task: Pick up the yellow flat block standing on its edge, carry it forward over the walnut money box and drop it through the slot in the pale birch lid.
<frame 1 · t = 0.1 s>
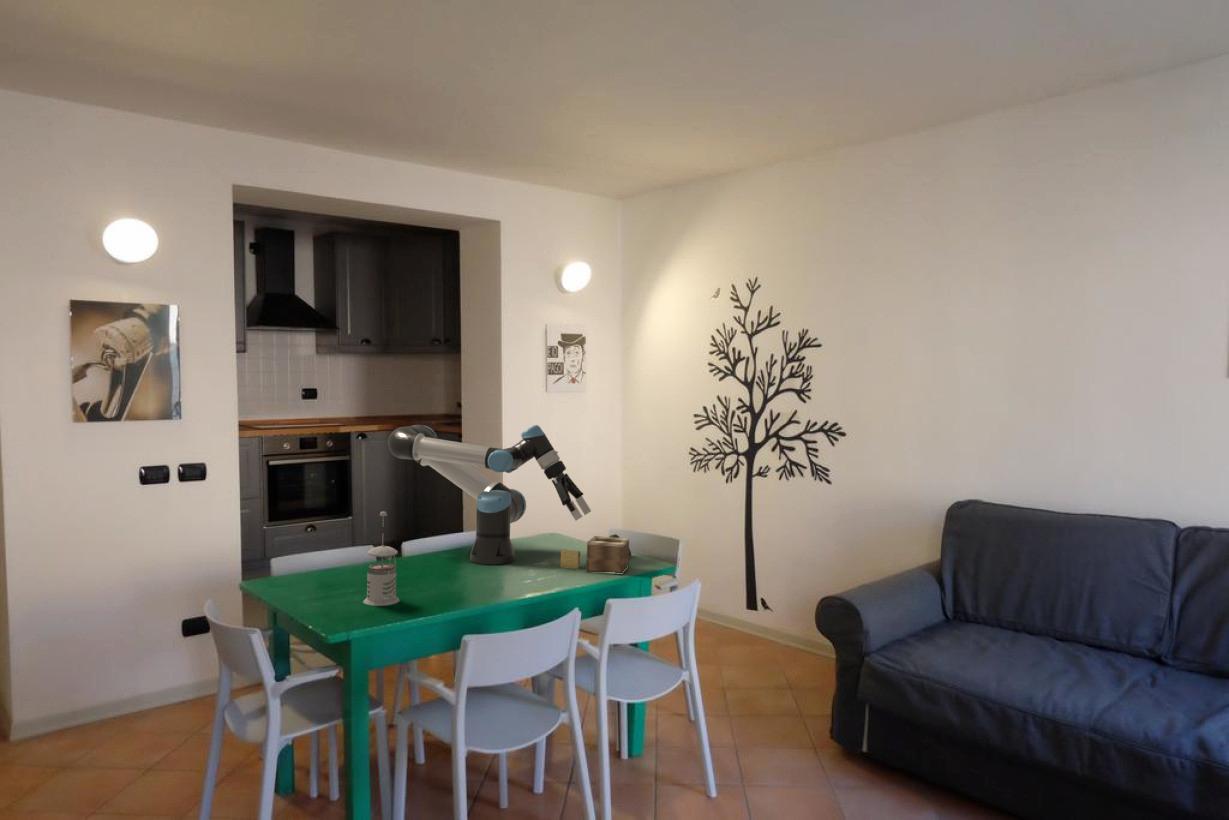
hand: (583, 516, 291), 15 cm above the table, tool tilted 35°, fingers open, 13 cm apart
french press: (382, 600, 229), on the table
coin box: (607, 569, 275), on the table
fossil: (616, 558, 295), on the table
yellow flat block: (570, 567, 277), on the table
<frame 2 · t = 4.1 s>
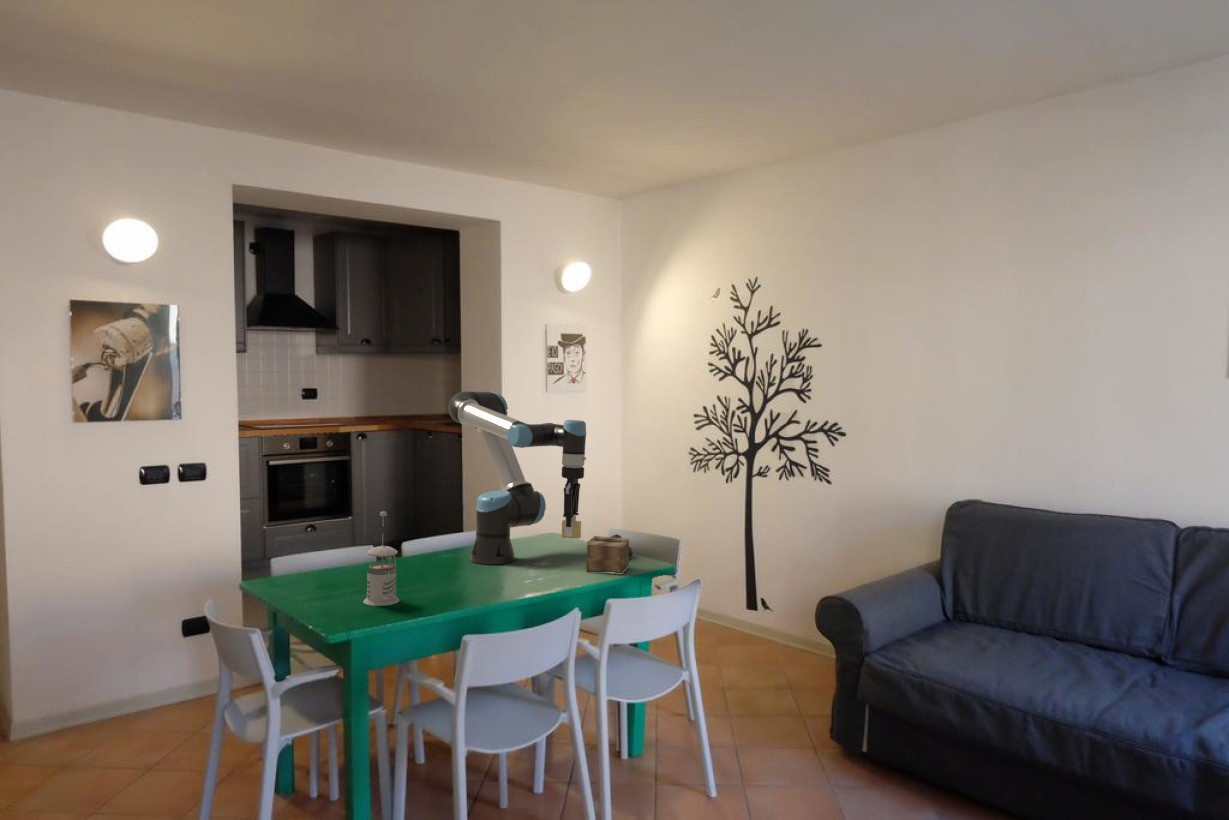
hand: (569, 535, 277), 11 cm above the table, tool pointing down, fingers closed on yellow flat block, 2 cm apart
yellow flat block: (571, 537, 277), point 10 cm above the table, touching gripper
everything else where it was.
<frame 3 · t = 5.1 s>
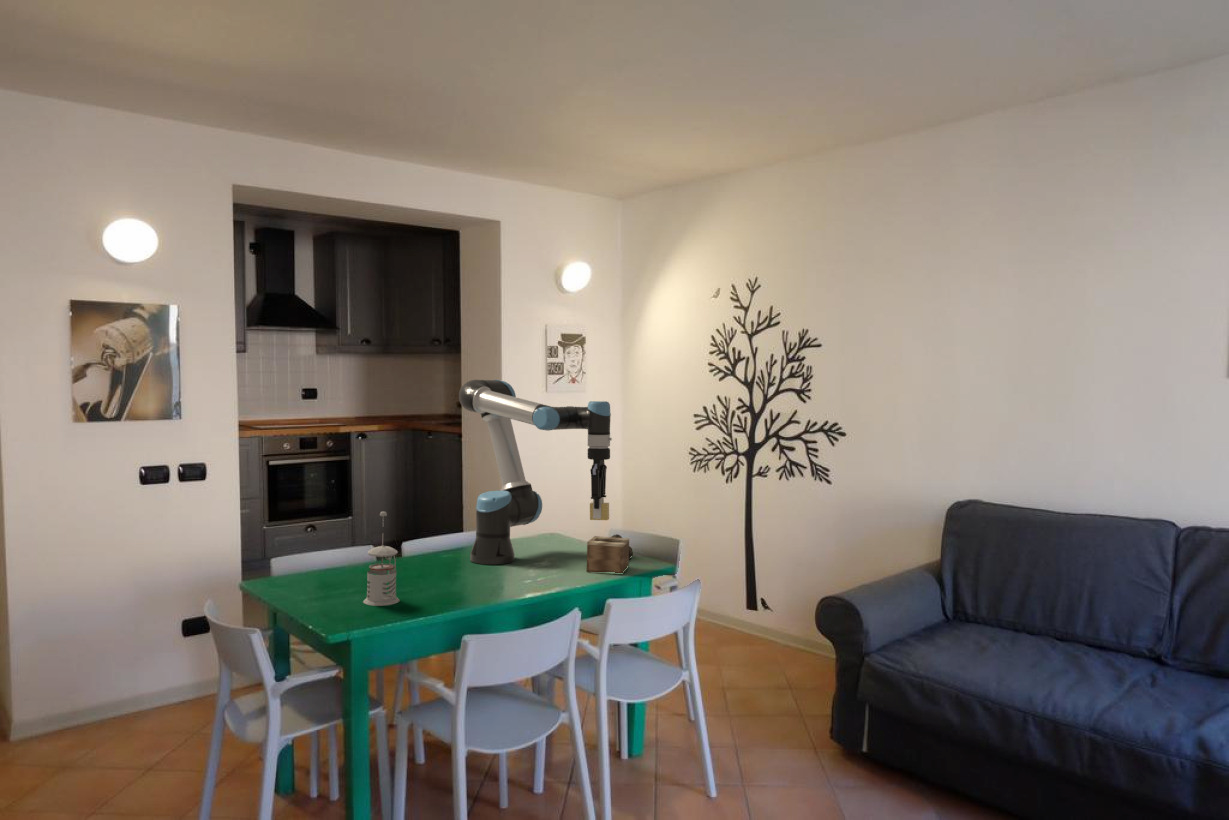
hand: (598, 517, 274), 17 cm above the table, tool pointing down, fingers closed on yellow flat block, 2 cm apart
yellow flat block: (599, 519, 274), point 17 cm above the table, touching gripper
everything else where it was.
when the fingers open (11 cm above the table, at t = 6.5 s): yellow flat block drops 10 cm, resting on coin box.
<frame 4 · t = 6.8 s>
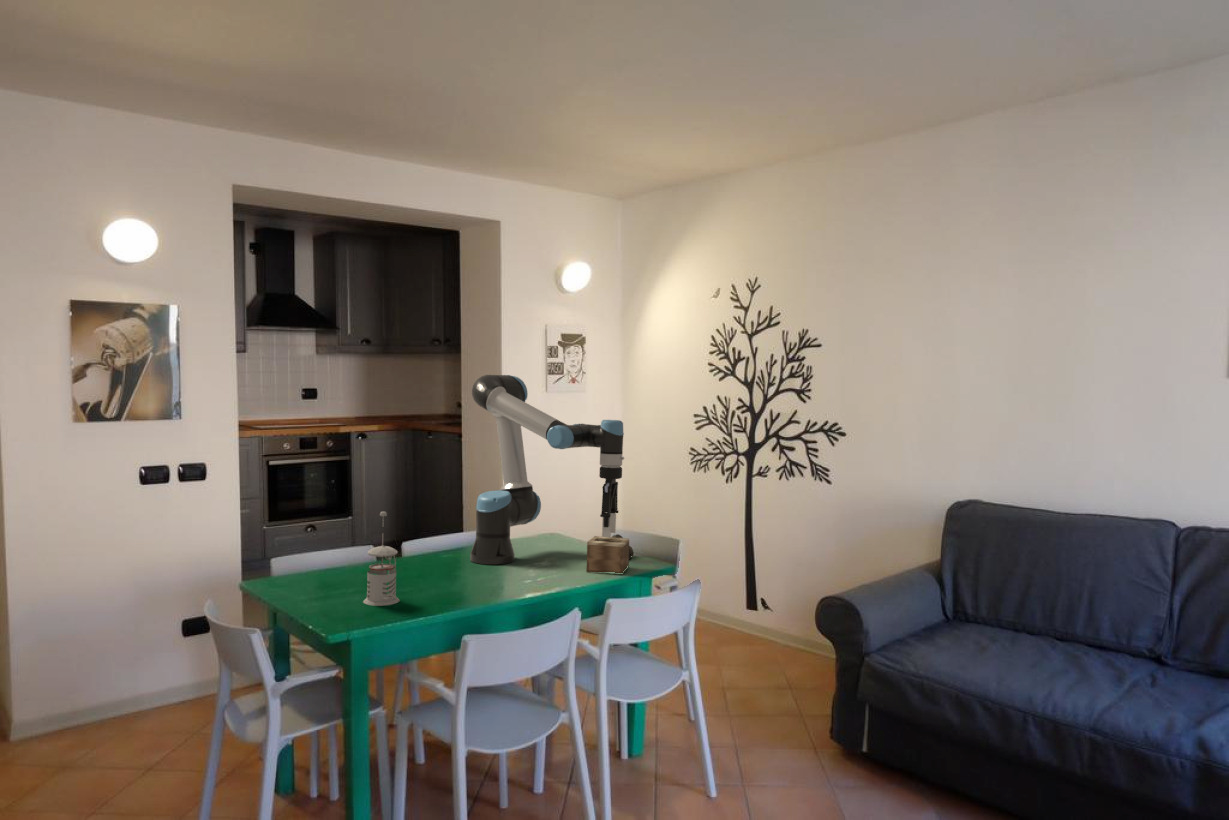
hand: (608, 534, 274), 12 cm above the table, tool pointing down, fingers open, 7 cm apart
yellow flat block: (609, 566, 275), point 1 cm above the table, tilted 11°, touching coin box
everything else where it was.
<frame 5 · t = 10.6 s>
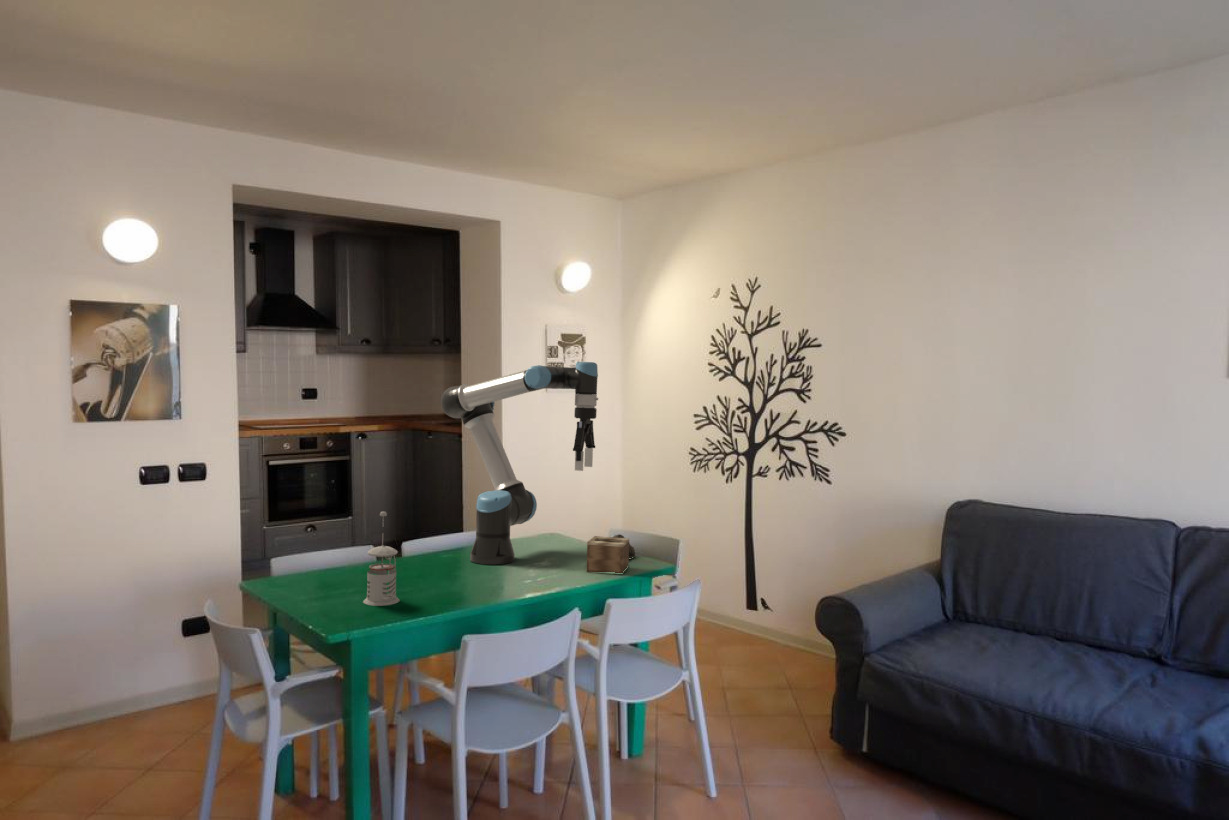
hand: (583, 468, 283), 33 cm above the table, tool pointing down, fingers open, 13 cm apart
yellow flat block: (609, 567, 275), point 1 cm above the table, touching coin box
at the end: yellow flat block inside the target area on the coin box (0.5 cm from its centre), point 0.8 cm above the coin box's base; the gripper is holding nothing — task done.
